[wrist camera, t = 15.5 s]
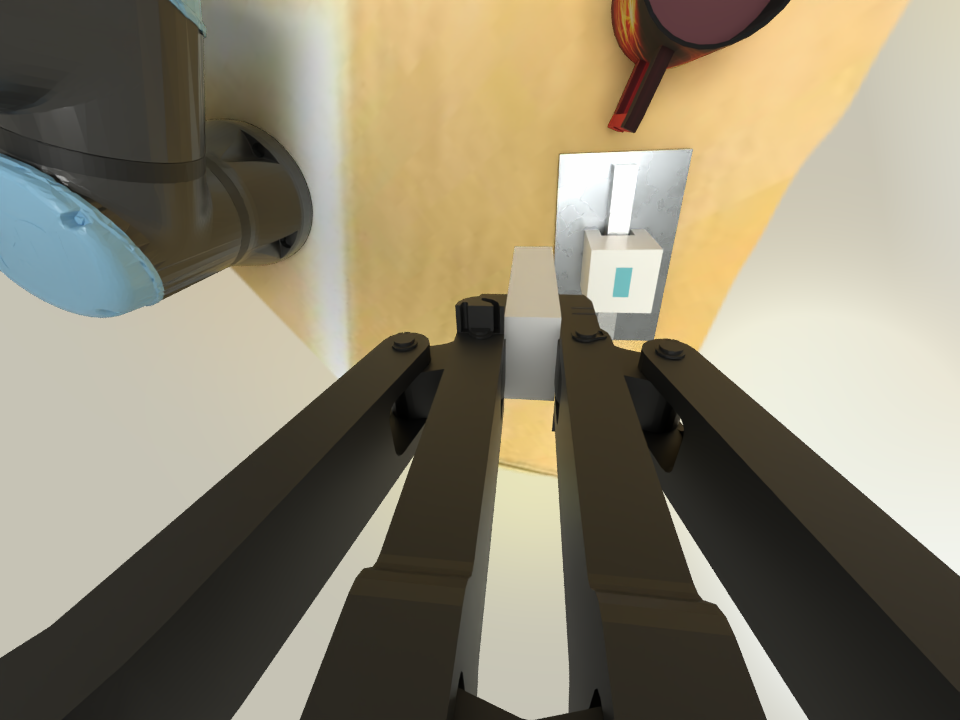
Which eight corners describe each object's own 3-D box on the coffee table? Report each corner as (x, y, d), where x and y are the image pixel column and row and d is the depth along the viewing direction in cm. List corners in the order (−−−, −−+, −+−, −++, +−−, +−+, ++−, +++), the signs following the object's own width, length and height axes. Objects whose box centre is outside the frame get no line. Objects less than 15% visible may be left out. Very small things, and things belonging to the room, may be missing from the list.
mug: (605, 132, 37) (627, 136, 27) (614, -74, 30) (647, -170, 20) (716, 118, 36) (783, 118, 25) (752, -104, 29) (865, -225, 18)
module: (580, 284, 44) (585, 312, 38) (584, 229, 41) (591, 250, 35) (635, 285, 43) (651, 313, 37) (645, 229, 40) (663, 249, 34)
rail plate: (550, 334, 49) (550, 345, 47) (559, 153, 39) (560, 156, 36) (651, 336, 47) (657, 349, 45) (689, 148, 37) (699, 150, 34)
